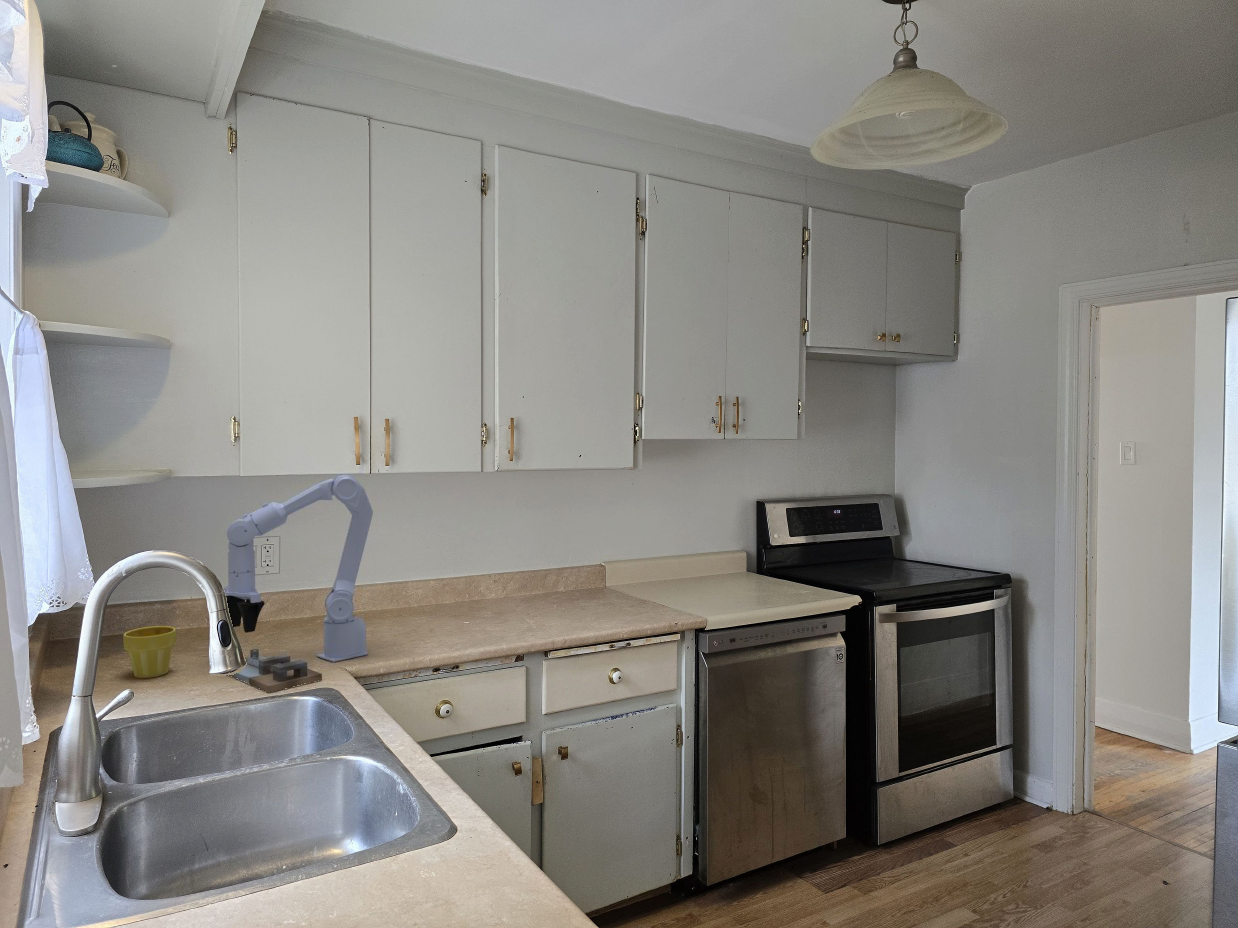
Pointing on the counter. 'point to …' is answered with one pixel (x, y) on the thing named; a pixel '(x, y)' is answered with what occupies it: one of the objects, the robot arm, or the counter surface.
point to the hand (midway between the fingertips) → (242, 629)
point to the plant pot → (150, 650)
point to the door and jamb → (277, 673)
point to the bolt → (257, 659)
